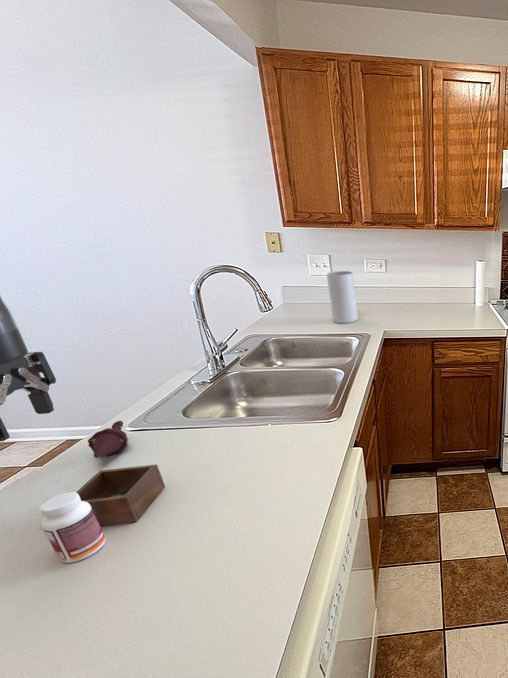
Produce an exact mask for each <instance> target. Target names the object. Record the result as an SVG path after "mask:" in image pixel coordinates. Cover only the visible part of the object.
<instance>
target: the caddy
mask: <svg viewBox="0 0 508 678" xmlns="http://www.w3.org/2000/svg"><path fill="white" fill-rule="evenodd" d="M165 488H166V485H165V482H164V480H163V476H162V474H161V472H160V468H159V466H158V464H148V465H140V466H130V467H120V468H110V469H101V470H99V471H98V472H96V473H95V474H94V476H92V477H90V479H89V480H88V481H86V483H84V484H83V485H82V486H81V487H79V489H78V490H77V491H75V492H76V493H78V495H79V497H80V498H81V501H84V502H87V503H89V504H90V506H91V508H92V510H93V512H94V514H95V516H96V518H97V520H98V522H99V525H100V527H101V528H103V527H109V526H110V527H111V526H119V525H126V524H127V525H128V524H134V523H138V521H139V520H140V519H141V518H142V517H143V515H144V514H145V513H146V511H147V510H148V509H149V508H150V506H151V505H152V504H153V503H154V501H155V500H156V499H157V498H158V497H159V495H160V494H161V493H162V491H163V490H164V489H165ZM117 495H118V496H117Z"/></svg>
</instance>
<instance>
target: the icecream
mask: <svg viewBox="0 0 508 678" xmlns="http://www.w3.org/2000/svg"><path fill="white" fill-rule="evenodd" d="M123 426H124V422H123V421H122V420H117V421H115V422H113V423H112V425H111V427H106V428H103V429H102V430H100V431H96V432H95V433H94V434H93V435H92V436H91V437H89V438H88V439H87V443H88V447H89V448H90V449H91V450H92V451H93V458H95V459H96V458H99V457H102V456H104V457H110V455H111V456H115V455H119V454H121V453H122V452H123V451H124V450H125V449H126V447H128V440H129V439H128V435H127V433H126V432H125V431H123V430H122V428H123ZM114 454H115V455H114Z"/></svg>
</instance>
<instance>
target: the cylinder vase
mask: <svg viewBox="0 0 508 678" xmlns="http://www.w3.org/2000/svg"><path fill="white" fill-rule="evenodd" d="M326 280H327V288H328V293H329V301H330V307H331V314H332V321H333V322H334V323H336V324H351V323H354V322H357V321H358V319H359V317H358V308H357V300H356V291H355V282H354V274H353V271H348V270H340V271H337V270H336V271H330V272H327V273H326Z"/></svg>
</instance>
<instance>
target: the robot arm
mask: <svg viewBox="0 0 508 678" xmlns="http://www.w3.org/2000/svg"><path fill="white" fill-rule="evenodd" d="M40 373H41V374H43V377H42V375H41V374H40ZM56 381H57V378H56V377H55V374H54V372H53V370H52V368H51V366H50V363H49V362H48V360H47V358H46V356H45V354H44V352H42V351H28V347H27V345H26V343H25V340H24V338H23V336H22V334H21V331H20V329H19V327H18V325H17V323H16V320H15V317H14V315H13V313H12V311H11V309H10V308H9V306H8V304H7V303H6V302H5V300H4V298H3V296H2V293H0V407H1V406H2V405H4V404H5V403H6V399H7V397H8V396H10V395H12V394H13V393H14V392H15V391H19V390H22V391H24V392H26V393H29V394H27V397H28V399H29V401H30V403H31V405H32V408H33V409H34V412H35V413H36V414H37V415H47V414H51V413H52V412H54V410H55V409H54V404H53V403H54V402H53V401H52V399H51V396H50V394H49V392H48V391H50V386H51V385H53V384H56ZM10 438H11V437H10V434H9V432H8V430H7V427H6V425H5V423H4V421H3V419H2V418H1V417H0V442H5V441H7V440H8V439H10Z"/></svg>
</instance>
